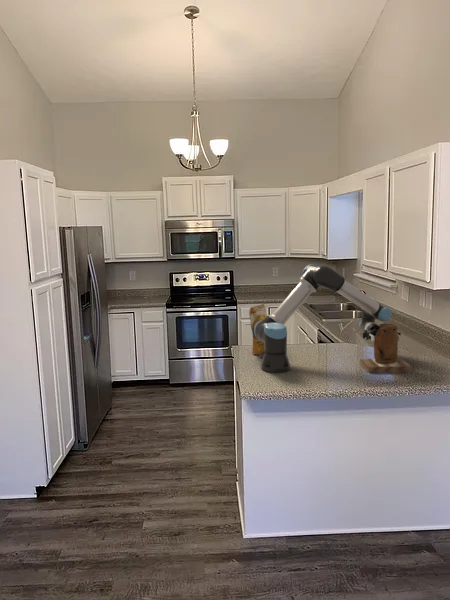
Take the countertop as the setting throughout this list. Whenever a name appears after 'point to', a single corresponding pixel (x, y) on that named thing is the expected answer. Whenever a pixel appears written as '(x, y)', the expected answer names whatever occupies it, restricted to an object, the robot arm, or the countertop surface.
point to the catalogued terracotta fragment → (386, 344)
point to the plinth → (385, 366)
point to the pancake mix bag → (255, 316)
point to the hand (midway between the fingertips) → (386, 338)
